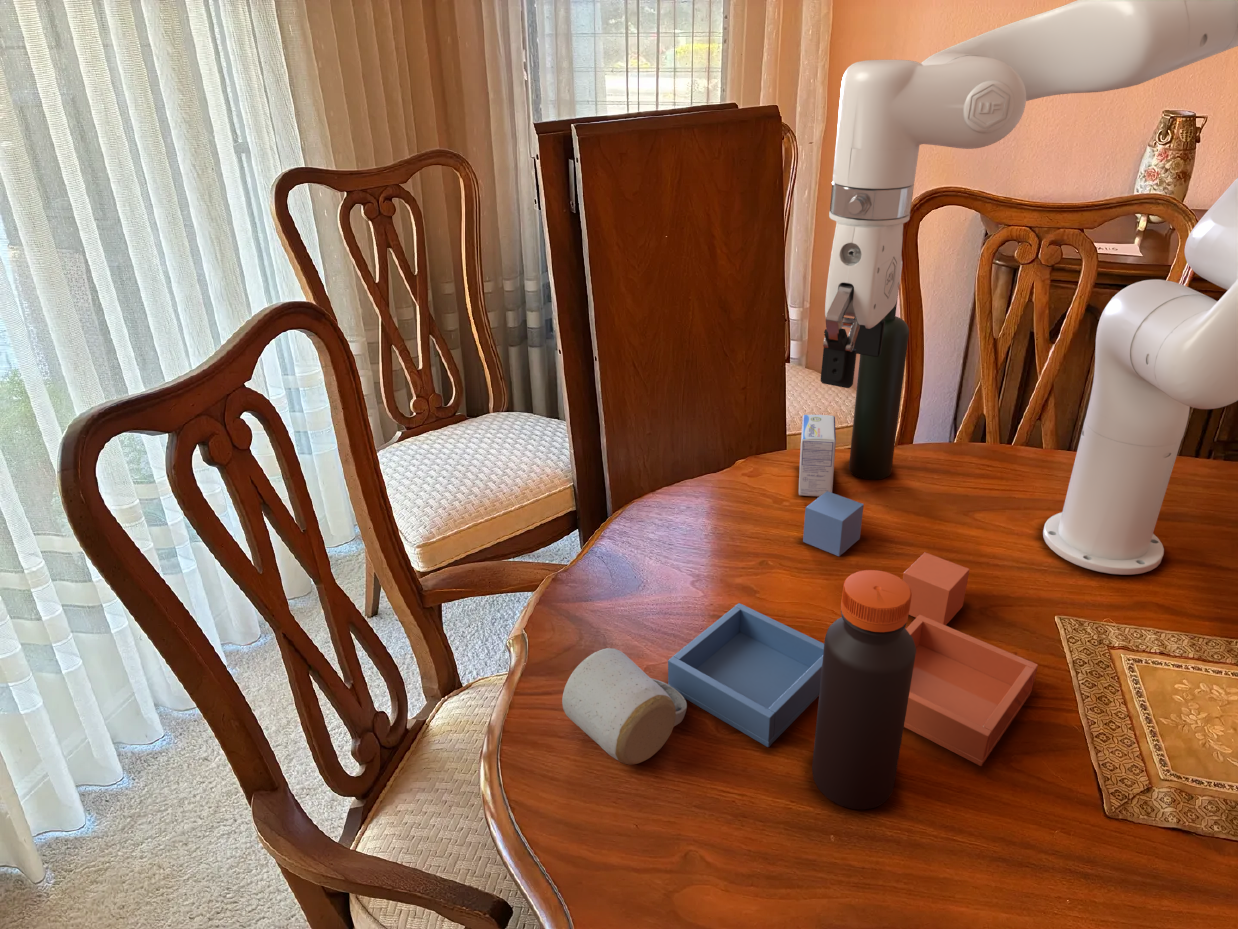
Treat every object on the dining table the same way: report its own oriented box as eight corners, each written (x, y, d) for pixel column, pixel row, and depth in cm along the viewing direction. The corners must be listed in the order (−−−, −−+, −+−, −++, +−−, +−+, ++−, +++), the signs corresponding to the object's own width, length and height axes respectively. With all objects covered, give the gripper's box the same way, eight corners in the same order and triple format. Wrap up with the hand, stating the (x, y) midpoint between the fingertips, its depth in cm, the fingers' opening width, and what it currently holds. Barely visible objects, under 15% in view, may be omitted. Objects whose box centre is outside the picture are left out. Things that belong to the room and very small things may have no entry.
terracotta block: (918, 589, 96) (924, 551, 93) (962, 606, 93) (969, 568, 90) (898, 610, 93) (903, 572, 90) (942, 629, 90) (949, 590, 87)
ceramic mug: (620, 786, 73) (618, 719, 69) (562, 733, 79) (557, 668, 75) (707, 725, 79) (709, 661, 75) (647, 680, 85) (647, 618, 81)
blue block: (824, 525, 108) (827, 490, 106) (860, 539, 105) (863, 503, 103) (802, 542, 105) (805, 507, 103) (839, 556, 102) (842, 521, 100)
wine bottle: (899, 476, 118) (927, 260, 104) (860, 482, 117) (884, 265, 103) (878, 458, 123) (903, 249, 109) (841, 463, 122) (861, 254, 108)
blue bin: (737, 629, 91) (738, 602, 89) (835, 679, 84) (838, 650, 82) (667, 688, 83) (667, 660, 82) (768, 747, 76) (770, 718, 75)
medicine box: (831, 499, 114) (837, 440, 110) (797, 496, 115) (801, 438, 110) (831, 470, 120) (836, 414, 116) (798, 468, 121) (802, 413, 117)
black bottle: (910, 797, 71) (945, 603, 62) (840, 823, 69) (865, 626, 60) (862, 739, 77) (887, 554, 67) (796, 762, 75) (812, 574, 65)
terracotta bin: (914, 642, 88) (919, 614, 86) (1031, 693, 81) (1038, 664, 79) (858, 704, 81) (862, 674, 79) (981, 767, 74) (988, 736, 72)
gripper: (884, 224, 74) (861, 405, 82) (932, 189, 87) (908, 349, 95) (801, 216, 77) (787, 391, 85) (859, 184, 90) (842, 338, 98)
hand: (851, 368), depth 90 cm, fingers open, 9 cm apart
